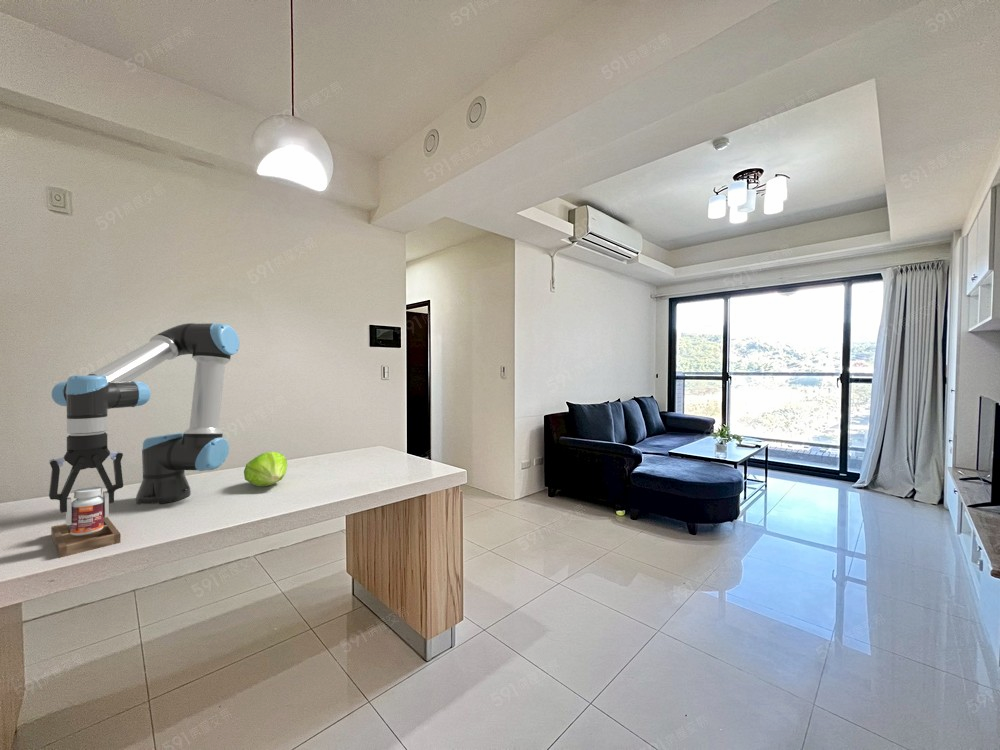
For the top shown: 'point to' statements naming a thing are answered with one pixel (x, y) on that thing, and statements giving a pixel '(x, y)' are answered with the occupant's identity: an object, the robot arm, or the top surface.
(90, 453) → the robot arm
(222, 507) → the top surface
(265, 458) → the lettuce
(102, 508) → the pill bottle
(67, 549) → the crate
